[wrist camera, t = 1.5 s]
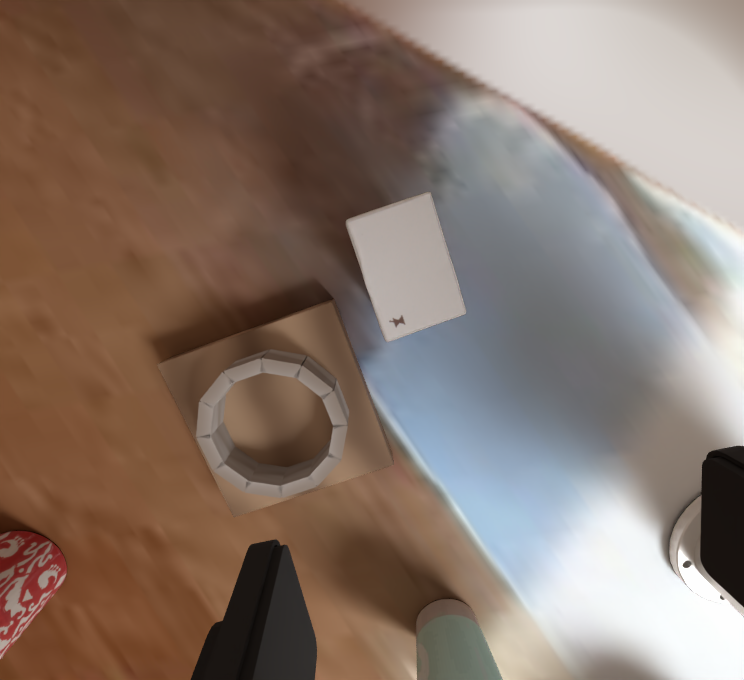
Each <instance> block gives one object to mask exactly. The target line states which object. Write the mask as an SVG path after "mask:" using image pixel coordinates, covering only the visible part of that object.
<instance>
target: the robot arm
mask: <svg viewBox="0 0 744 680" xmlns="http://www.w3.org/2000/svg"><path fill="white" fill-rule="evenodd" d="M669 554H670V561H671V564H672V566H673V569H674V571H675V573H676V574H677V575H678V577H679V578H680V579H681V580H682V581H683V582H684V583H685V584H686V585H687V586H688V587H689V588H690V589H691V590H692V591H693V592H695V593H696V594H698V595H699V596H701V597H703V598H706V599H708V600H711V601H715V602H720V603H730V604H731V605H732V606H733V607H734V608H735V609H736V610H737V611H738V612H739V613H740V614H741V615H742V616H743V617H744V446H734V447H729V448H724V449H719V450H714V451H711V452H709V453H708V455H707V458H706V460H704V462H703V464H702V492H701V496H699V497H698V498H697V499H695V500H694V501H693V502H692V503H691V504H690V505H689V506H688V507H687V508H686V509H685V511H684V512H683V513H682V515H681V516H680V517H679V519H678V521H677V523H676V525H675V527H674V529H673V532H672V535H671V539H670V547H669ZM316 659H317V645H316V637H315V633H314V630H313V627H312V623H311V620H310V617H309V614H308V610H307V607H306V604H305V600H304V597H303V594H302V590H301V587H300V584H299V581H298V577H297V574H296V571H295V567H294V564H293V561H292V558H291V554H290V551H289V548H288V546H287V545H282V546H280V543H279V541H278V540H270V541H265V542H260V543H255V544H251V545H250V546H249V548H248V550H247V553H246V556H245V559H244V562H243V565H242V568H241V570H240V573H239V576H238V579H237V582H236V585H235V588H234V591H233V593H232V596H231V599H230V602H229V605H228V608H227V611H226V613H225V616H224V619H223V621H220V622H217V623H215V624H214V625H213V626H212V628H211V629H210V631H209V633H208V635H207V638H206V640H205V643H204V646H203V648H202V651H201V654H200V656H199V659H198V662H197V664H196V667H195V670H194V672H193V675H192V678H191V680H315V670H316Z"/></svg>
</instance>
